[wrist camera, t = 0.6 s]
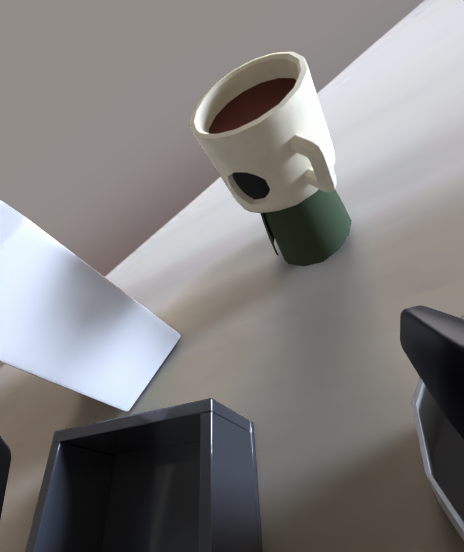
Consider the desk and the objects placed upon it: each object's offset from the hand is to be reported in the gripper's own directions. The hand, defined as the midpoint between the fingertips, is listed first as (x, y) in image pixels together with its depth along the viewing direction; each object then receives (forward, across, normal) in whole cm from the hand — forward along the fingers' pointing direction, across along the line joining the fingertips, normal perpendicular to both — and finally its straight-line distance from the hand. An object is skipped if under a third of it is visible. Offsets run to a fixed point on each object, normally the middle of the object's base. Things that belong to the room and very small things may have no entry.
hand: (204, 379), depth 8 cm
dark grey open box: (+6, +6, +17) cm, 19 cm away
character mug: (+20, -9, +7) cm, 23 cm away
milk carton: (+20, +8, +14) cm, 25 cm away
